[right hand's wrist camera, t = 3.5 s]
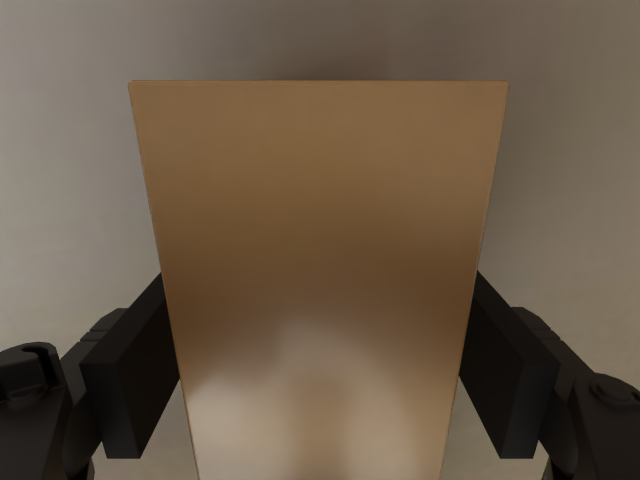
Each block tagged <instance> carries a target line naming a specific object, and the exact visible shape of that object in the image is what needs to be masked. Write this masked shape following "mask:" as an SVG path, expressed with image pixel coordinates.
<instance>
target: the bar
mask: <svg viewBox="0 0 640 480" xmlns="http://www.w3.org/2000/svg"><path fill="white" fill-rule="evenodd" d="M128 89H129V95H130V100H131V106H132V111H133V117H134V123H135V128H136V134H137V139H138V145H139V151H140V156H141V162H142V167H143V173H144V179H145V184H146V190H147V195H148V201H149V207H150V212H151V218H152V223H153V229H154V235H155V240H156V246H157V251H158V257H159V263H160V268H161V274H162V279H163V285H164V291H165V296H166V302H167V307H168V313H169V318H170V324H171V330H172V335H173V341H174V346H175V352H176V358H177V363H178V369H179V374H180V380H181V386H182V391H183V397H184V402H185V408H186V414H187V419H188V425H189V430H190V436H191V442H192V447H193V453H194V458H195V464H196V469H197V475H198V480H440V478H441V472H442V466H443V461H444V455H445V449H446V444H447V438H448V432H449V427H450V421H451V415H452V410H453V404H454V398H455V393H456V387H457V381H458V376H459V370H460V364H461V358H462V353H463V347H464V341H465V336H466V330H467V324H468V319H469V313H470V307H471V302H472V296H473V290H474V285H475V279H476V273H477V268H478V262H479V256H480V251H481V245H482V239H483V234H484V228H485V222H486V217H487V211H488V205H489V200H490V194H491V188H492V183H493V177H494V171H495V166H496V160H497V154H498V149H499V143H500V137H501V132H502V126H503V120H504V115H505V109H506V103H507V98H508V92H509V82H507V81H505V80H133V81H131V82H129V83H128Z"/></svg>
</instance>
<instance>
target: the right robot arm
mask: <svg viewBox="0 0 640 480" xmlns="http://www.w3.org/2000/svg"><path fill="white" fill-rule="evenodd" d="M459 377H460V379H461V381H462V383H463V385H464V387H465V389H466V391H467V393H468V395H469V397H470V399H471V401H472V403H473V405H474V407H475V409H476V411H477V413H478V415H479V417H480V419H481V421H482V423H483V425H484V427H485V429H486V431H487V433H488V435H489V437H490V439H491V441H492V443H493V445H494V447H495V449H496V451H497V453H498V455H499V457H500V459H533V456H534V453H535V450H536V446H537V443H538V440H539V441H540V442H541V444H542V445H543V447H544V449H545V450H546V452H547V453H548V455H549V458H548V461H547V464H546V467H545V470H544V473H543V476H542V480H640V391H638V390H637V389H636V388H634V387H633V386H631V385H629V384H627V383H625V382H624V381H622V380H620V379H617V378H614V377H611V376H608V375H605V374H600V373H594V372H593V371H592V370H591V369H590V368H589V367H588V366H587V365H586V364H585V363H584V362H583V361H582V360H581V359H580V358H579V357H578V356H577V355H576V354H575V353H574V352H573V351H572V349H571V348H570V347H569V346H568V345H567V344H566V343H565V342H564V341H561V340H560V337H559V336H558V335H557V334H556V333H555V332H554V331H551V328H550V327H549V326H548V325H547V324H546V323H545V322H544V321H543V320H542V319H541V318H540V317H539V316H537V315H535V314H533V313H532V312H530V311H528V310H527V309H525V308H523V307H510V306H509V305H508V304H507V303H506V301H505V300H504V299H503V298H502V297H501V296H500V295H499V294H498V293H497V291H496V290H495V289H494V288H493V287H492V286H491V285H490V284H489V283H488V281H487V280H486V279H485V278H484V277H483V276H482V275H481V274H480V273H479V271H478V270H477V273H476V279H475V285H474V290H473V296H472V302H471V307H470V313H469V319H468V324H467V330H466V336H465V341H464V347H463V353H462V358H461V364H460V370H459ZM179 379H180V374H179V369H178V363H177V358H176V352H175V346H174V341H173V335H172V330H171V324H170V318H169V313H168V307H167V302H166V296H165V291H164V285H163V279H162V274H161V273H160V274H159V275H158V276H157V277H156V278H155V279H154V280H153V281H152V283H151V284H150V285H149V286H148V287H147V288H146V289H145V290H144V291H143V293H142V294H141V295H140V296H139V297H138V298H137V299H136V300H135V301H134V303H133V304H132V305H131V306H130V307H129V308H117V309H116V310H114V311H112V312H111V313H109V314H107V315H106V316H104V317H102V318H101V319H100V320H99V321H98V322H97V323H96V324H95V325H94V326H93V327H92V328H91V329H90V332H87V333H86V334H85V335H84V336H83V337H82V338H81V339H80V342H77V343H76V344H75V345H74V346H73V347H72V348H71V349H70V350H69V351H68V352H67V353H66V354H65V355H64V356H63V357H62V358H61V359H60V360H59V357H58V354H57V350H56V347H55V346H53V345H52V344H50V343H45V342H33V343H25V344H22V345H18V346H15V347H11V348H9V349H6V350H4V351H2V352H0V480H94V473H95V471H94V465H93V461H92V458H91V457H92V455H93V454H94V452H95V451H96V449H97V447H98V446H99V444H100V443H101V441H102V443H103V446H104V450H105V453H106V456H107V459H140V457H141V455H142V453H143V451H144V449H145V447H146V445H147V443H148V441H149V439H150V437H151V435H152V433H153V431H154V429H155V427H156V425H157V423H158V421H159V419H160V417H161V415H162V413H163V411H164V409H165V407H166V405H167V403H168V401H169V399H170V397H171V395H172V393H173V391H174V389H175V387H176V385H177V383H178V381H179Z"/></svg>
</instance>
